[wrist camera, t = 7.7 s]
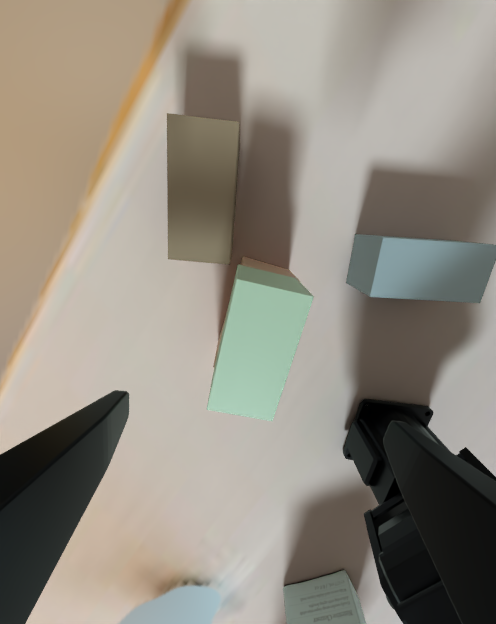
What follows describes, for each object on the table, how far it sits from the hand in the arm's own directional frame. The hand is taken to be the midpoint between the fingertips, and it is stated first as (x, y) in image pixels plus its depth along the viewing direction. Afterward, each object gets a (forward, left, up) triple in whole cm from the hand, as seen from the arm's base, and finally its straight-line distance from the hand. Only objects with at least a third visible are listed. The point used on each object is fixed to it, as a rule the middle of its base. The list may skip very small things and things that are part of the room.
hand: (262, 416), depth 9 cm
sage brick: (0, 0, -8) cm, 8 cm away
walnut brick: (+4, -7, -12) cm, 15 cm away
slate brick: (-10, -5, -12) cm, 16 cm away
